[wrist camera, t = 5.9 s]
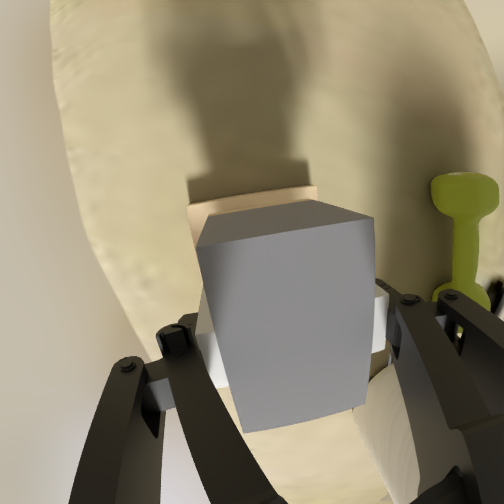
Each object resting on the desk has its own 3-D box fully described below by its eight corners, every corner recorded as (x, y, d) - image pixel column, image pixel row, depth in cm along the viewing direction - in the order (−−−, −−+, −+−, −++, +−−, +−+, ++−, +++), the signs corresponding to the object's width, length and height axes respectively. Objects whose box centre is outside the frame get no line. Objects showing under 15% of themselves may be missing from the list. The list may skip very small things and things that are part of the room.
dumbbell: (414, 173, 24) (464, 178, 17) (462, 168, 24) (509, 173, 17) (416, 317, 28) (452, 348, 21) (461, 298, 29) (496, 321, 22)
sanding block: (208, 214, 16) (195, 247, 9) (308, 198, 17) (373, 217, 9) (235, 344, 19) (243, 433, 11) (319, 327, 19) (365, 404, 11)
